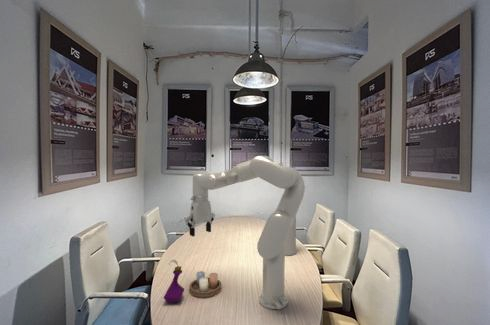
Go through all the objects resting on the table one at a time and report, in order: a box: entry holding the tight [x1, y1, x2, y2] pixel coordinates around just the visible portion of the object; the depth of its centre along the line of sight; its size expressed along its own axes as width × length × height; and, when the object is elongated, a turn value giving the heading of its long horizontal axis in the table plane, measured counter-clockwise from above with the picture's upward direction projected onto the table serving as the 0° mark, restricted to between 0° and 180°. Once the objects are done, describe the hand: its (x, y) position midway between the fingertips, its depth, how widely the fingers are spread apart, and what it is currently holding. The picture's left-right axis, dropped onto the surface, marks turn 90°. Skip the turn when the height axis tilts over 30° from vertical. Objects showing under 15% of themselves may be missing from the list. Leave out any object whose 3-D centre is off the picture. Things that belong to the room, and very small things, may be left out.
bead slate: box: [196, 270, 206, 287], centre depth 126 cm, size 4×4×6 cm
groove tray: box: [188, 276, 222, 299], centre depth 123 cm, size 15×15×2 cm
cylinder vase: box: [285, 215, 297, 257], centre depth 171 cm, size 12×12×25 cm
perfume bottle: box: [163, 258, 185, 304], centre depth 114 cm, size 8×8×18 cm
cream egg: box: [199, 276, 208, 292], centre depth 119 cm, size 4×4×6 cm
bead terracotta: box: [208, 272, 219, 289], centre depth 124 cm, size 4×4×6 cm
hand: (200, 233), depth 125 cm, fingers open, 9 cm apart
